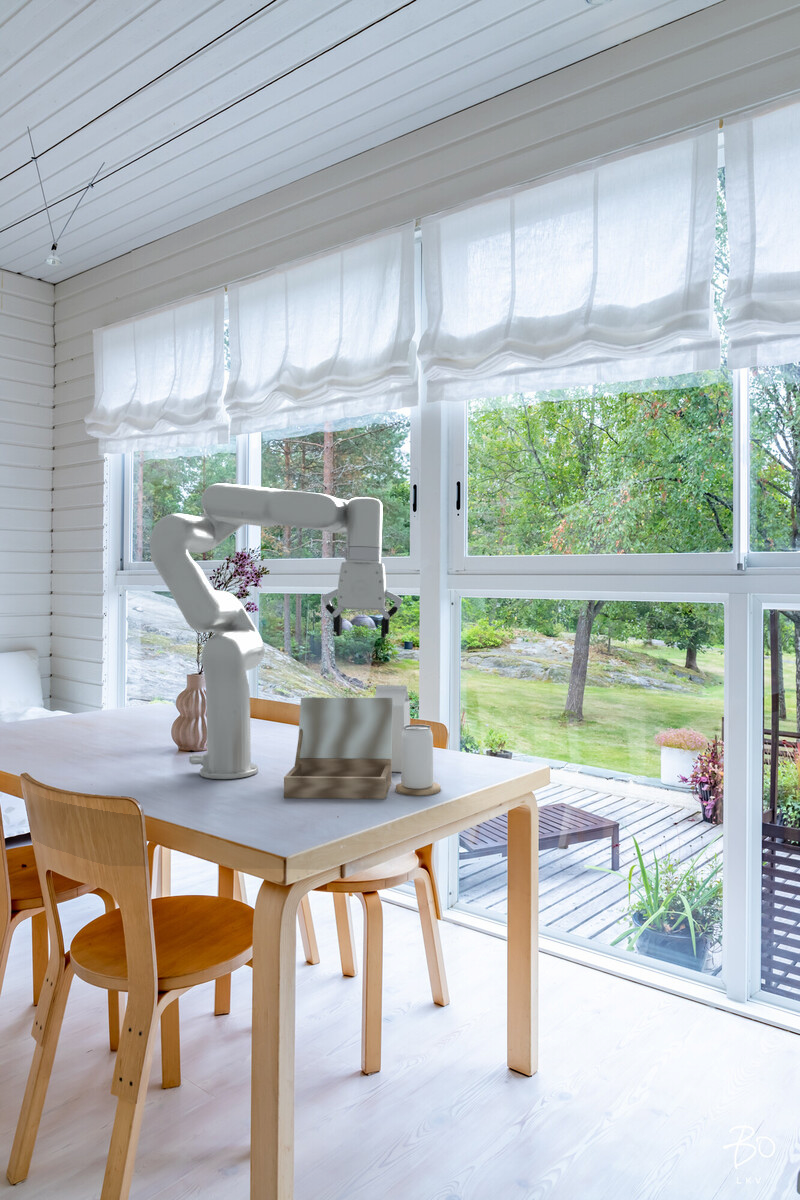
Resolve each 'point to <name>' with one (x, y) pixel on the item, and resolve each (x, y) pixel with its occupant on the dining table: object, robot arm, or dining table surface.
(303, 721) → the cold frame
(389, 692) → the milk carton
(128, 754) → the dining table surface
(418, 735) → the can
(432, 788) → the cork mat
